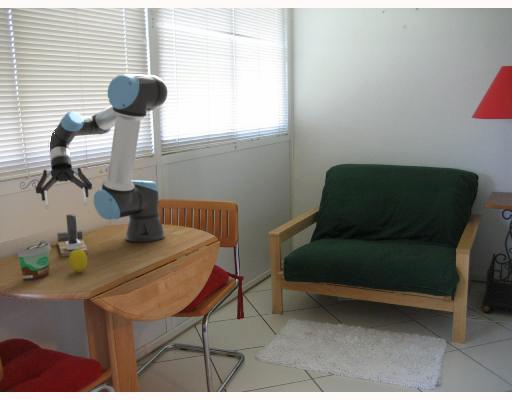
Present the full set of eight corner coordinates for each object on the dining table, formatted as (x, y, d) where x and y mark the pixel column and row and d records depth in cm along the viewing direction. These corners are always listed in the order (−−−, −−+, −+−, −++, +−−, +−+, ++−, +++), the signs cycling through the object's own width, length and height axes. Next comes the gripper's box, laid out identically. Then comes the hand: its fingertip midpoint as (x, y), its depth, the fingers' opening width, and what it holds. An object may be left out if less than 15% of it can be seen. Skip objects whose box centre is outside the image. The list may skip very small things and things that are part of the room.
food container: (38, 283, 164) (35, 251, 162) (20, 282, 165) (17, 250, 163) (60, 270, 176) (58, 240, 174) (43, 270, 177) (41, 240, 175)
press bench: (88, 253, 195) (87, 241, 194) (61, 256, 192) (60, 244, 191) (82, 241, 213) (81, 230, 212) (58, 244, 210) (57, 232, 209)
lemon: (70, 276, 170) (68, 251, 168) (69, 271, 175) (67, 247, 173) (89, 273, 172) (87, 249, 170) (87, 269, 177) (85, 245, 175)
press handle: (81, 248, 195) (78, 215, 193) (66, 250, 193) (64, 217, 191) (80, 245, 199) (77, 213, 197) (65, 246, 198) (63, 214, 195)
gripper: (93, 165, 220) (100, 207, 209) (27, 169, 211) (31, 214, 200) (94, 153, 214) (101, 196, 204) (25, 156, 205) (29, 202, 194)
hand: (66, 205), depth 202 cm, fingers open, 13 cm apart
